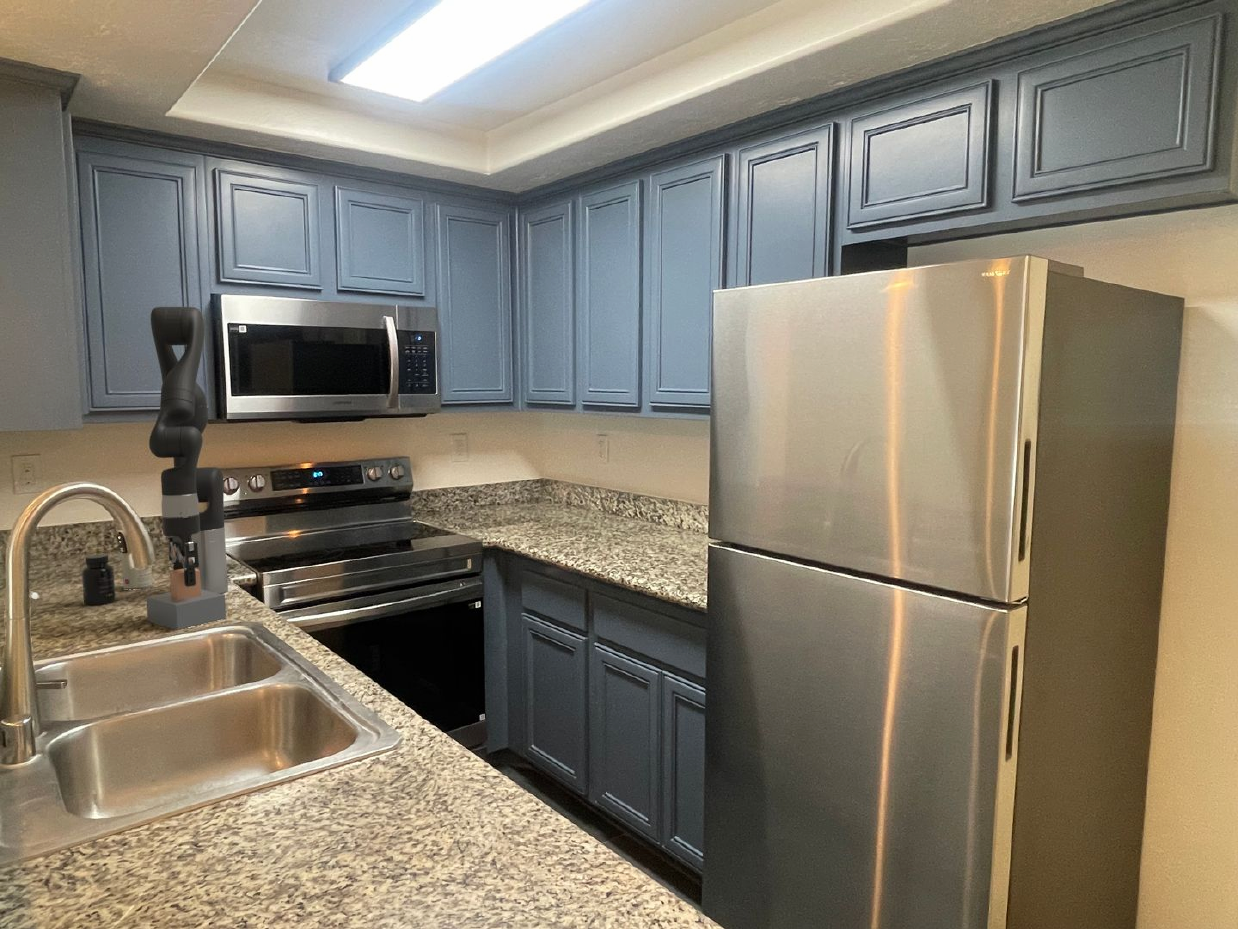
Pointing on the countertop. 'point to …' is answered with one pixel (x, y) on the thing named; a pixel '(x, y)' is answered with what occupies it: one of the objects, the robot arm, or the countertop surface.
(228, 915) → the countertop surface
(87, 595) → the supplement bottle
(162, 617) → the charcoal storage box
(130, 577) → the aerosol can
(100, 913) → the countertop surface
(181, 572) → the terracotta block
